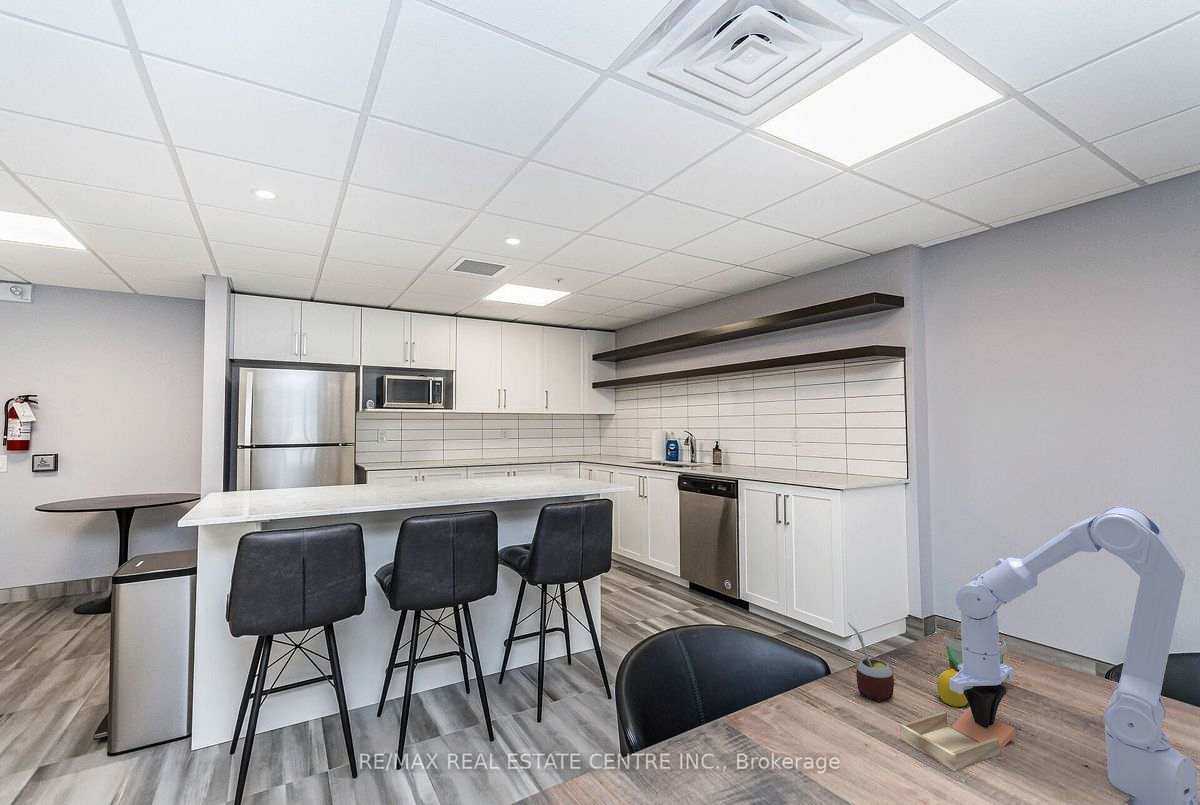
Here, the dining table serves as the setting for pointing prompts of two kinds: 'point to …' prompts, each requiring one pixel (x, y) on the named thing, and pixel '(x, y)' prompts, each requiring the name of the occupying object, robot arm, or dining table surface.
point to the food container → (956, 651)
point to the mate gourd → (873, 676)
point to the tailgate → (983, 729)
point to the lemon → (946, 693)
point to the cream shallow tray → (946, 742)
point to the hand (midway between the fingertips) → (983, 724)
